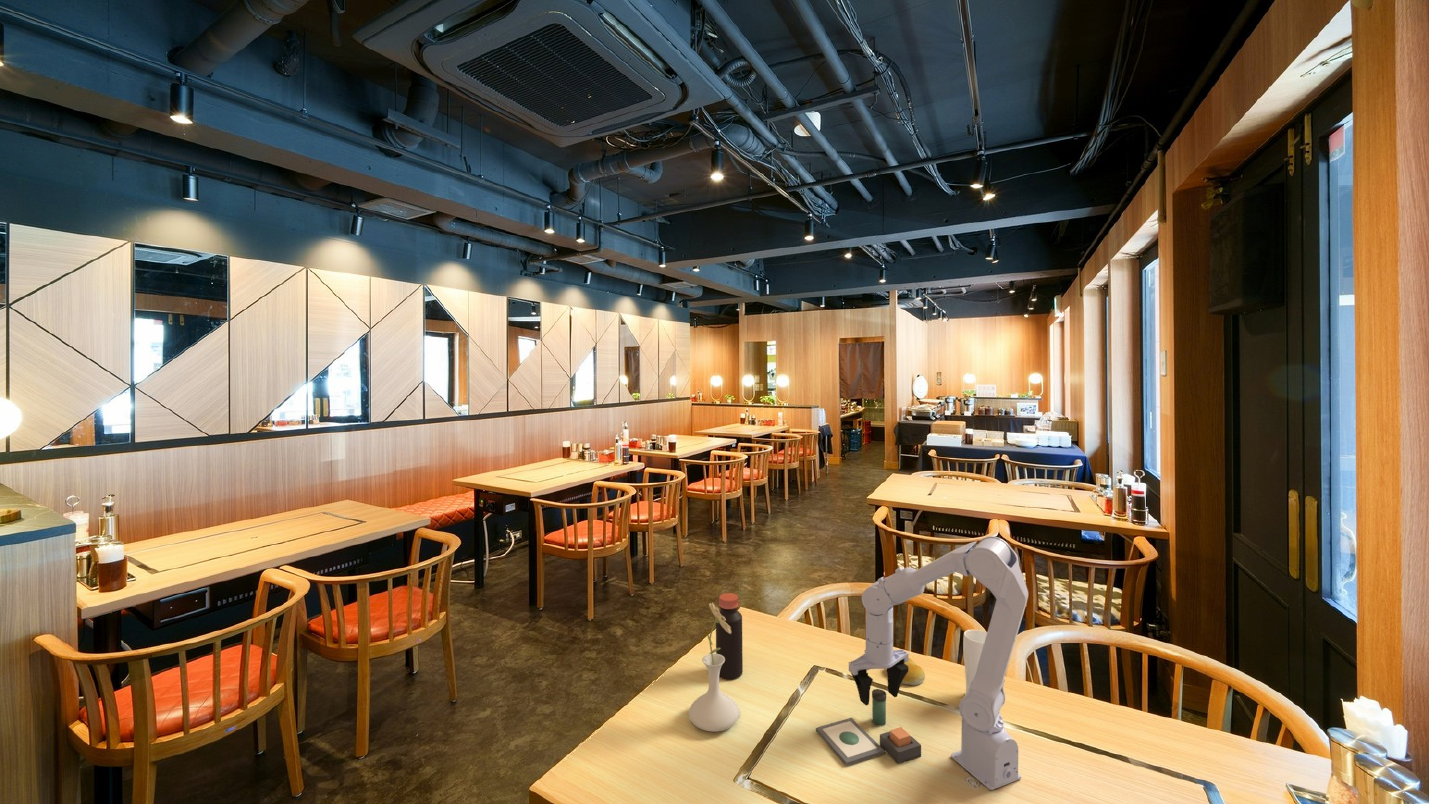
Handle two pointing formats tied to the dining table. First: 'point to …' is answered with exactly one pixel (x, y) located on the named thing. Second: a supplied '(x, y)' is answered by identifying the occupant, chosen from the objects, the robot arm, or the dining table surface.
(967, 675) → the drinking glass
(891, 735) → the button
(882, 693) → the marker
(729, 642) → the bottle
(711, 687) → the flower in vase
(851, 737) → the board
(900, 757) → the button housing
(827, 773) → the dining table surface
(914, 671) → the bread roll
